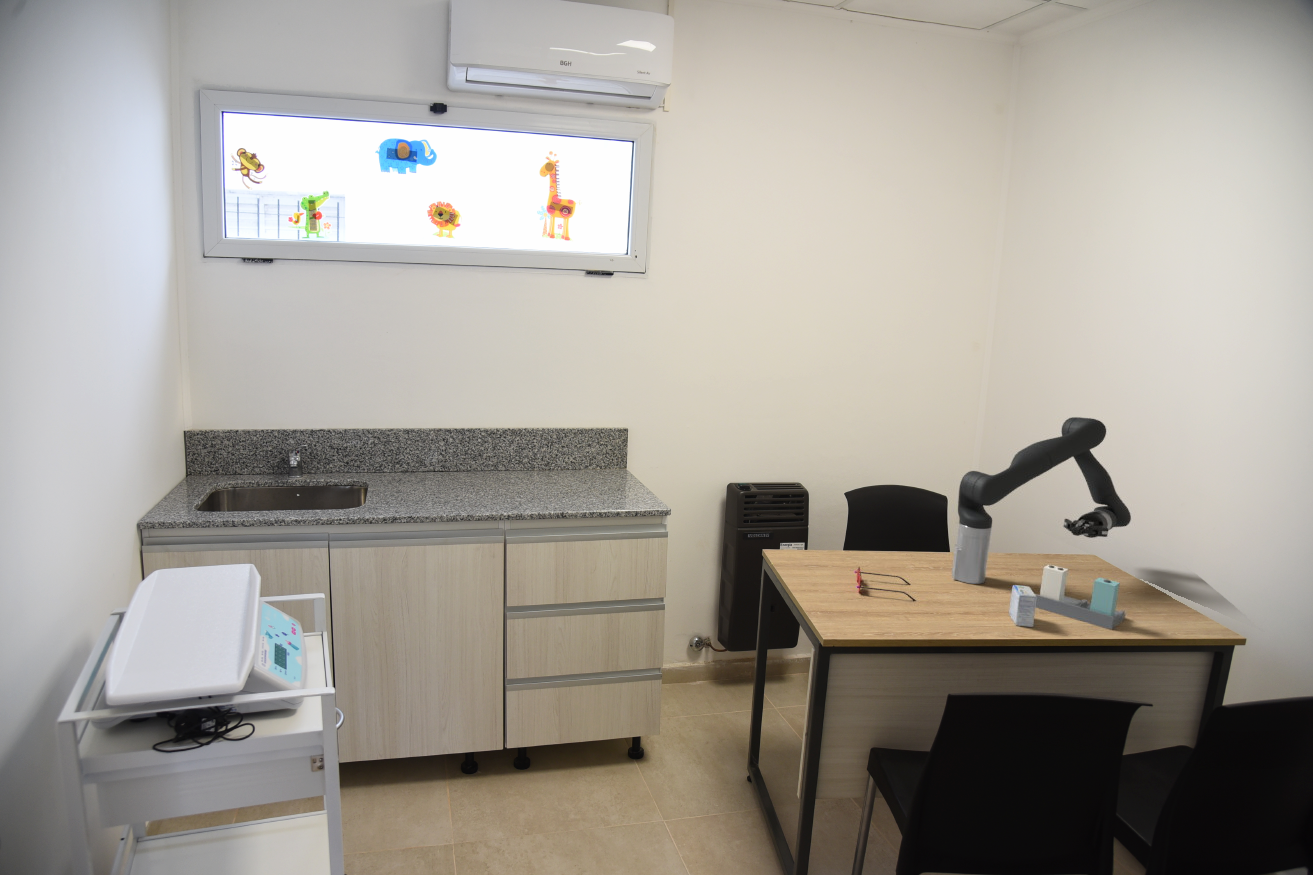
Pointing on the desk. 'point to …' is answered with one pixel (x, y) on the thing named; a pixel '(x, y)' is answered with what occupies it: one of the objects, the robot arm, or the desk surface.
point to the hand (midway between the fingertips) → (1075, 531)
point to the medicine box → (1022, 606)
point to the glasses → (876, 588)
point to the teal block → (1104, 596)
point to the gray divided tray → (1079, 611)
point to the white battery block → (1053, 582)
